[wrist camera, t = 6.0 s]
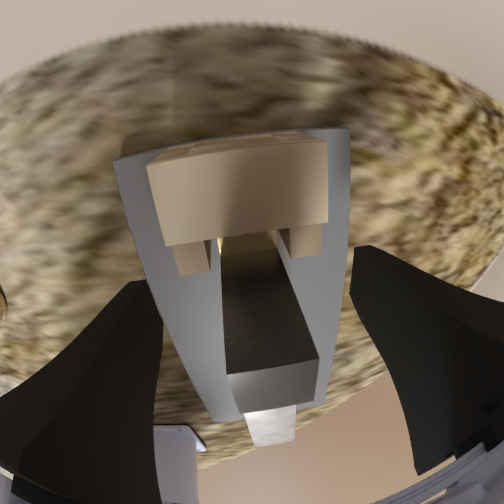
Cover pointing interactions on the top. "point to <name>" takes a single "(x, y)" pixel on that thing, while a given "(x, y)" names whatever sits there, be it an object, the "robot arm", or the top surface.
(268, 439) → the outer sleeve
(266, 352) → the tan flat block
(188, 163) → the socket block
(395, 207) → the top surface
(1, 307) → the sprinkles bottle
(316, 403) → the base board
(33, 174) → the top surface
